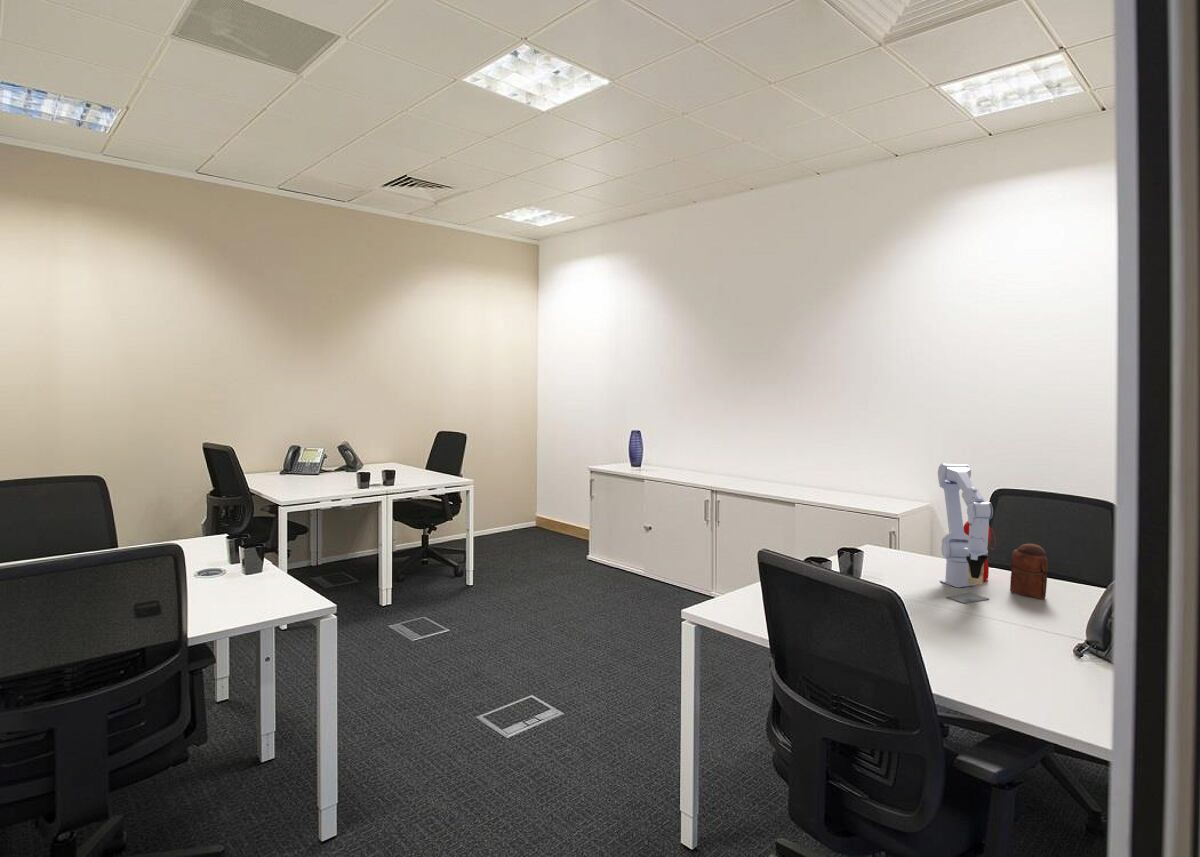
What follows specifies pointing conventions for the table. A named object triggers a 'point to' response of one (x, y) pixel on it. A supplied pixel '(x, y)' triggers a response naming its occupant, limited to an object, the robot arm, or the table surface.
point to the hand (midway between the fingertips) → (976, 576)
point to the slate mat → (967, 598)
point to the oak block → (975, 580)
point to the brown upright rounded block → (1029, 571)
